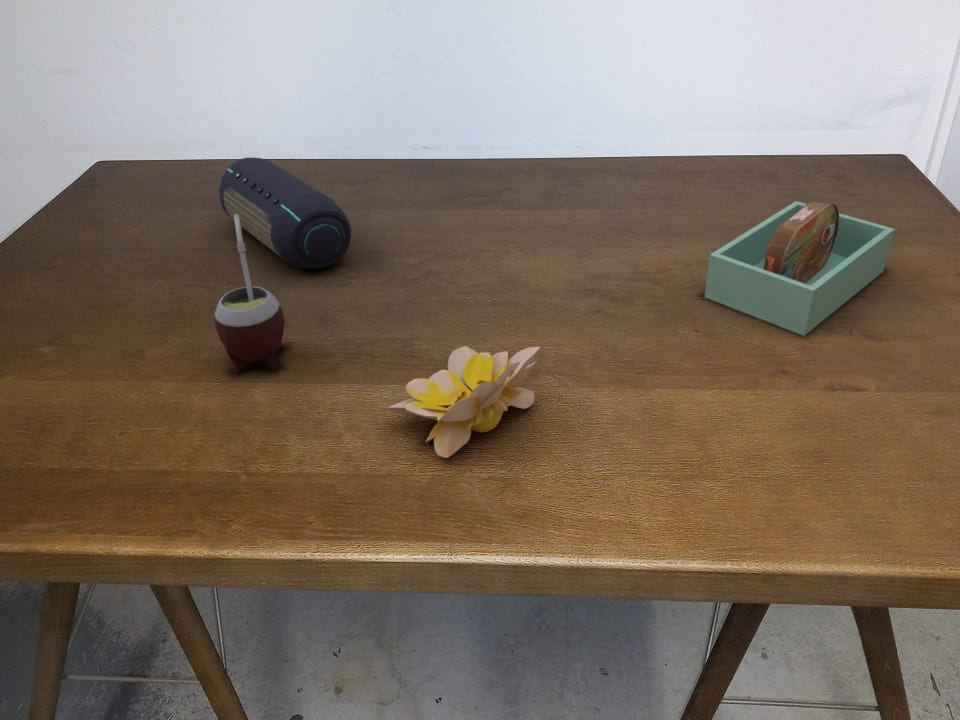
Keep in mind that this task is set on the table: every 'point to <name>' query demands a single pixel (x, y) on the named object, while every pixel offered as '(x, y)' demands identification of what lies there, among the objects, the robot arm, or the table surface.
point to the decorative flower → (469, 395)
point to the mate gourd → (249, 321)
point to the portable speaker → (285, 213)
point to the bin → (786, 300)
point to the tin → (803, 242)
